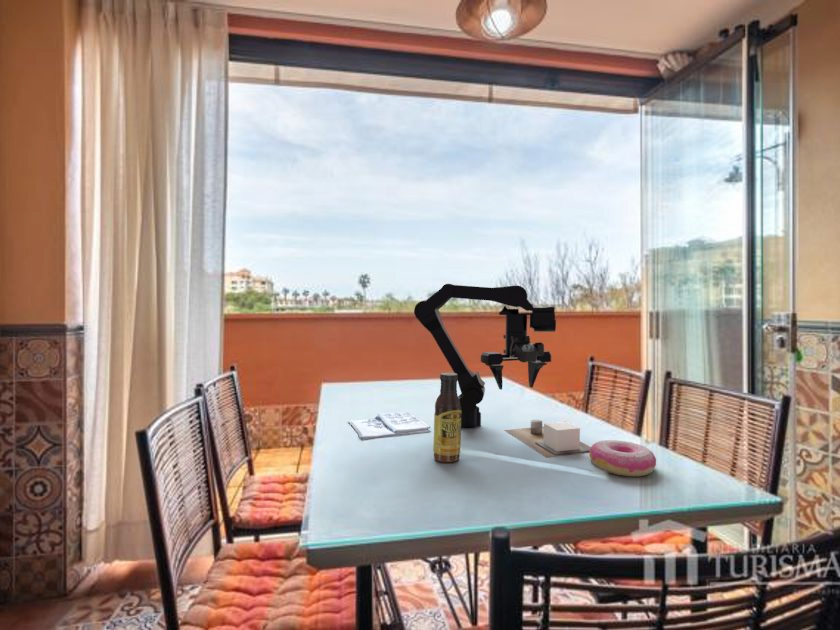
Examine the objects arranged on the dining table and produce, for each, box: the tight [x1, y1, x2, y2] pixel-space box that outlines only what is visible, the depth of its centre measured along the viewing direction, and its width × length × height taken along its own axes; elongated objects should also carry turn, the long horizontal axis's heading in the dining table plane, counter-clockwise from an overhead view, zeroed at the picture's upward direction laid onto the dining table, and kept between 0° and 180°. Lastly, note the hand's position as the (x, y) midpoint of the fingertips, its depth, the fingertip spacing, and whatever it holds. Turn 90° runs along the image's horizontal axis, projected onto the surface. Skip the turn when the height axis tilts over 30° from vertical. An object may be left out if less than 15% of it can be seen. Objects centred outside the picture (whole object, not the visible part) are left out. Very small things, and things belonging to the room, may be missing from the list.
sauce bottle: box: [433, 372, 462, 463], centre depth 110 cm, size 7×6×20 cm
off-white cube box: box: [543, 421, 581, 451], centre depth 115 cm, size 6×6×5 cm
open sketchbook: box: [347, 411, 431, 440], centre depth 137 cm, size 19×20×2 cm
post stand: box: [503, 419, 592, 458], centre depth 121 cm, size 14×22×4 cm, turn 16°
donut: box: [589, 439, 657, 477], centre depth 104 cm, size 14×13×5 cm
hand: (515, 388), depth 131 cm, fingers open, 9 cm apart
